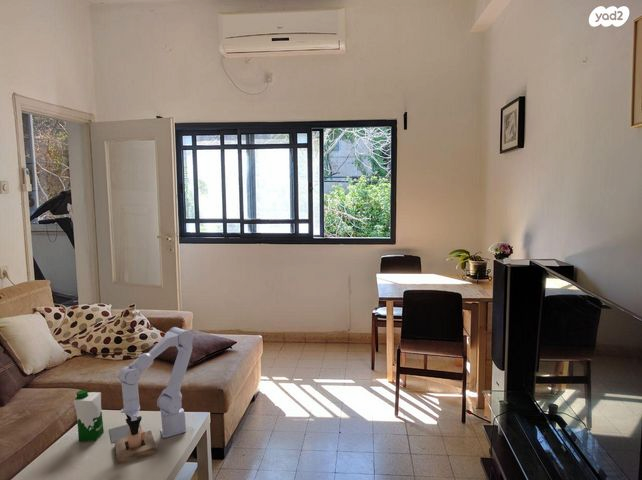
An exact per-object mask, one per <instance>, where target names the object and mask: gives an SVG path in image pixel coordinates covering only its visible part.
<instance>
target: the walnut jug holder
mask: <svg viewBox="0 0 642 480" xmlns="http://www.w3.org/2000/svg"><path fill="white" fill-rule="evenodd" d="M144 432H145V440H142V444H144V445H142V446H141V447H138V448H134V449H131V450H129V449H128V450H127V448H128V437H125V438H121V439H118V440H114V442H115V443H114V447H115V455H116V460H117V465H121V464H123V463H127V462H131V461H134V460H137V459H141V458H144V457H147V456H148V457H149V456H152V455H153V454H154V455H155V454H157V453H158V452H157V449H158V448H157V445H156V441H155V438H154V435H153V432H152V430H148V431H147V430H146V431H144ZM141 439H142V438H141Z"/></svg>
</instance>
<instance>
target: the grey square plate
mask: <svg viewBox="0 0 642 480" xmlns="http://www.w3.org/2000/svg"><path fill="white" fill-rule="evenodd" d="M139 428H140V429H141V431H143V430H142V426H141V423H140V424H139ZM129 429H130V427H129V425H128V424H127V423H126V424H124V425H121V426H117V427H112V428H109V435H110V436H109V437H110V441H111V444H115V442H114V440H118V439H121V438H125V437H127V431H128V430H129Z"/></svg>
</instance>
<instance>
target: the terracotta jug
mask: <svg viewBox="0 0 642 480" xmlns="http://www.w3.org/2000/svg"><path fill="white" fill-rule="evenodd" d="M141 430H142V428H141V429H140V428H139V430H138V434H136V435H133V436H132V434H131V431H130V429H129V430H128V431H127V437H128V447H127V448H128V450H131V449H134V448H138V447H141V446H143V443H142V440H145V432H146V431H145V430H142V431H141ZM141 438H142V439H141Z"/></svg>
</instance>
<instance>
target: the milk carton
mask: <svg viewBox="0 0 642 480" xmlns="http://www.w3.org/2000/svg"><path fill="white" fill-rule="evenodd" d="M73 405H74V408H75V412H76V414H75V415H76V422H77V423H76V424H77V437H78V442H96V441H97V440H98V439H99V438H100V437H101V436H102V435H103V434H104V421H103V412H102V392H97V391H93V392H91V391H90V392H88V390H87V389H81V390H78V391H77V392H76V397H75V399H74V400H73Z"/></svg>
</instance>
